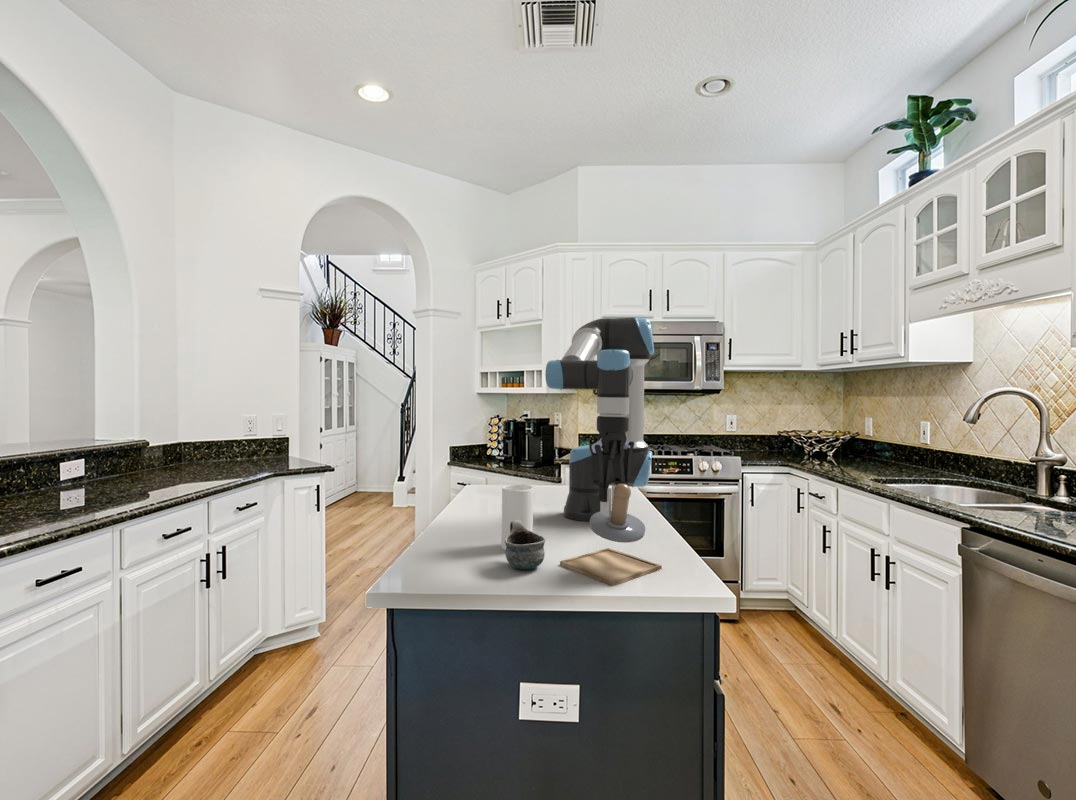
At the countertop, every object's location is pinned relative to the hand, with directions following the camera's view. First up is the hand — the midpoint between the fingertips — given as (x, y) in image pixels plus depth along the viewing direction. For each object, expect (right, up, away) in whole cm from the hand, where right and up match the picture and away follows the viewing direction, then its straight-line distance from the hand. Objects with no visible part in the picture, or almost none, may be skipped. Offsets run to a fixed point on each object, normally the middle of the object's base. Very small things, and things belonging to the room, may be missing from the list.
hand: (611, 513), depth 128 cm
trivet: (0, -13, 0) cm, 13 cm away
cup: (-23, -12, +15) cm, 30 cm away
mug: (-21, -13, +1) cm, 25 cm away
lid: (+1, -3, -1) cm, 3 cm away
